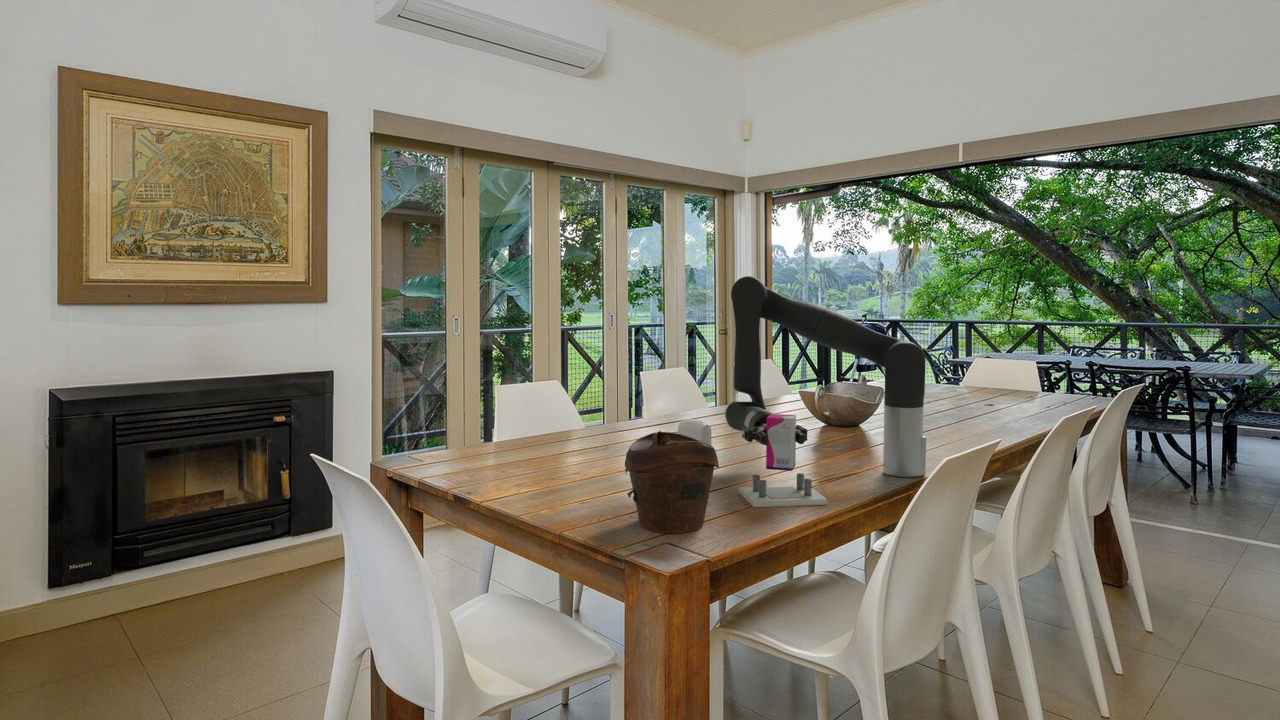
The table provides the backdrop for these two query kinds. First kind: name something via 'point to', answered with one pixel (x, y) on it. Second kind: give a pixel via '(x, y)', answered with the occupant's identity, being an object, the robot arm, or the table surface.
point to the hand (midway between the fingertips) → (784, 439)
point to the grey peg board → (782, 493)
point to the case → (670, 481)
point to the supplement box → (781, 442)
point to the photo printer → (695, 430)
